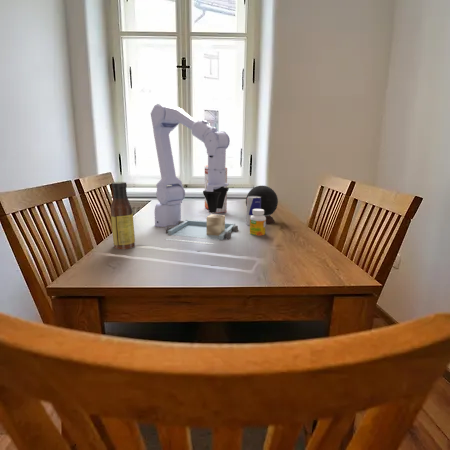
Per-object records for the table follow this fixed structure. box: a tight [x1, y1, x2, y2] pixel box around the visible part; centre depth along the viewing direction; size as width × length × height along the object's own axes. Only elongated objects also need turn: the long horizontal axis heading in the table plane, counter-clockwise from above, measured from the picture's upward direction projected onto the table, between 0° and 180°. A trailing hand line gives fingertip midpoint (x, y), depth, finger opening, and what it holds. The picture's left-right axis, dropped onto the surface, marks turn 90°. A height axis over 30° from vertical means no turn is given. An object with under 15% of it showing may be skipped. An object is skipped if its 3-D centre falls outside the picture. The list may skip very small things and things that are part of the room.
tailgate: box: [164, 238, 215, 245], centre depth 108 cm, size 16×2×5 cm
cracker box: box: [204, 165, 228, 214], centre depth 161 cm, size 14×6×21 cm, turn 25°
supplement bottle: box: [249, 209, 267, 237], centre depth 117 cm, size 5×5×10 cm
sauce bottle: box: [110, 181, 136, 250], centre depth 101 cm, size 7×6×20 cm
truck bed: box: [165, 219, 239, 241], centre depth 118 cm, size 22×18×3 cm
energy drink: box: [245, 196, 261, 227], centre depth 130 cm, size 5×5×12 cm
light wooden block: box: [206, 213, 226, 236], centre depth 116 cm, size 5×5×6 cm
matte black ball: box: [245, 185, 279, 225], centre depth 141 cm, size 13×13×15 cm
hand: (216, 210), depth 115 cm, fingers open, 7 cm apart
